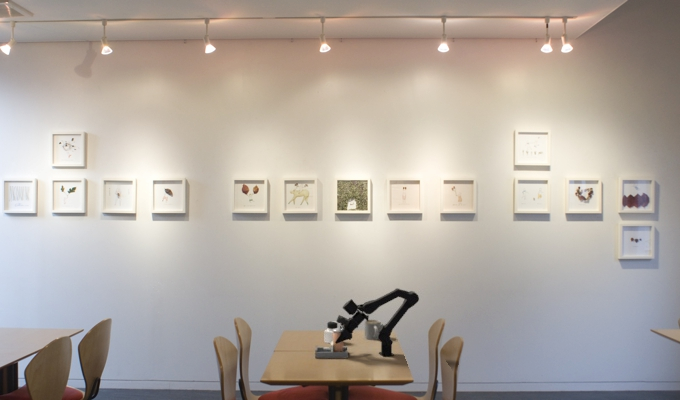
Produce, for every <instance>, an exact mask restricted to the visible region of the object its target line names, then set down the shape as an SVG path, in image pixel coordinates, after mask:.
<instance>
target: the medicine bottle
mask: <svg viewBox="0 0 680 400" xmlns="http://www.w3.org/2000/svg"><path fill="white" fill-rule="evenodd" d="M326 326H327V329H325V330H324V332H323V333H324V335H323V336H324V338H323V340H324V341H323V342H324V344H325V343H327V344H330V345H331V342H333V329H335V328H339V326H338V322H337V321H333V320H332V321H328V322H327V324H326Z"/></svg>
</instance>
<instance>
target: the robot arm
mask: <svg viewBox="0 0 680 400" xmlns="http://www.w3.org/2000/svg"><path fill="white" fill-rule="evenodd" d="M419 297H420V296H419V295H418V294H417V292H415V291H413V290H411V291H408V290H404V289H400V288H395V289H394V290H391V291H390V292H388V293H386V294H384V295H381V296H380V297H378V298H376V299H372V300H368V301H365V302H363V303H361V304H357V303H356V302H354V300H353V299H350V300H348V301H346V302H345V303H344V305H343V306H342V309H343V310H344V311H345V312H346V313H347V314H348V315H350V316H351V317H348V318H347V317H345V316H342V315H340V314H338V316H337V318H336V322H337V324H340V326H339V328H341V329H342V331H341V334H340V336H339V337H338V339H337V340H336V342H335V343H336V344H337V343H340V342H342V341H343V342H344V341H347V340H349V341H351V339H353V333H354V331H355V330H356V329H358V328H359V326H360V325H361V323H363V321H366V320H367V321H369V320H370V319H369V317H370V315H372V314H373V313H374V312H376V311H377V310H378V309H379V308H380V307H382V306H384V305H385V304H387V303H389V302H391V301H394V300H395V299H397V298H401V299H404V300H403V301H402V304H400V306H399V308H398V309H397V310H396V312H395V313H394V314H393V315H392V317H391V318H390V319H389V320H388V321H387V323H385V324H383V323H381V326H380V328H379V329H378V332H377V336H378V340H379V342H381V343H380V344H381V345H380V351H379V352H378V354H379V355H381V356H382V357H385V358H386V357H393V356H395V354H394V353H393V349H392V348H393V347H392V346H393V339H392V337H391V336H392V332H393V329H395V327H396V325H397V324H398V323H399V322H400V321H401V320H402V318H403V317H404V316H405V314H406V313H407V312H408V311H409V309H411V308H412V307H414V306H415V305H416V304H417V303H418V302H419V301H420V298H419Z"/></svg>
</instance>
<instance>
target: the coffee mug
mask: <svg viewBox="0 0 680 400" xmlns="http://www.w3.org/2000/svg"><path fill="white" fill-rule="evenodd" d="M368 320H369V321H367V320H366V319H365V320H364V339H366V340H367V341H368V340H370V341H376V340H377V341H378V340H379V339H378V336H377V332H378V329H379V328H380V326H381V325H382V321H381V320H379V319H368Z"/></svg>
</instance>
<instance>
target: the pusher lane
mask: <svg viewBox="0 0 680 400" xmlns="http://www.w3.org/2000/svg"><path fill="white" fill-rule="evenodd" d="M327 347H328V346H325V347H324V346H320V347H319V346H318V345H315V349H314V350H315V353H314V354H315V355H314V357H315V359H348V358H349V352H348V346H343V352H331V350H324V348H327Z"/></svg>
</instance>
